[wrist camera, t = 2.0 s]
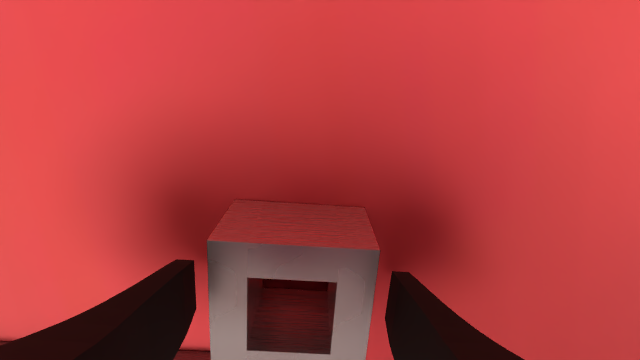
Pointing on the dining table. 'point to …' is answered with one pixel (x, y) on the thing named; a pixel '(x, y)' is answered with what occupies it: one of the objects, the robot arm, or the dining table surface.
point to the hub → (291, 264)
